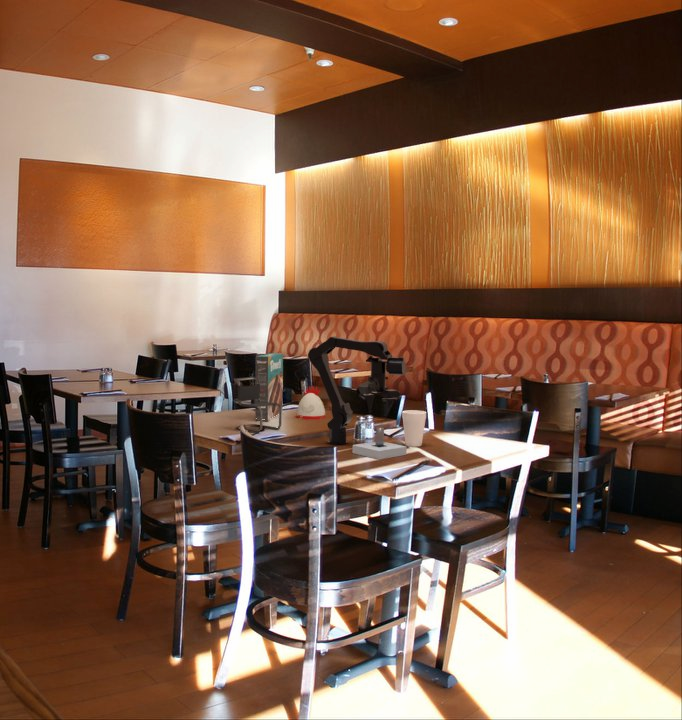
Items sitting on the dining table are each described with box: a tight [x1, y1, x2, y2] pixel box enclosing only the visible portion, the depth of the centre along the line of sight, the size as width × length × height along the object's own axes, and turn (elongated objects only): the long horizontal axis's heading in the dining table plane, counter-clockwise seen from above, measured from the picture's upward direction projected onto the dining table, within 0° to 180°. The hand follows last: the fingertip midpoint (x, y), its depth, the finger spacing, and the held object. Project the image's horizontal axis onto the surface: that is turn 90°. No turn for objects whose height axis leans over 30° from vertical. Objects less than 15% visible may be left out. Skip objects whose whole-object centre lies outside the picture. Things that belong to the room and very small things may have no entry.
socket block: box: [352, 441, 408, 460], centre depth 281 cm, size 14×14×3 cm
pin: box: [375, 427, 385, 447], centre depth 280 cm, size 3×3×10 cm
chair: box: [233, 376, 283, 433], centre depth 328 cm, size 13×17×22 cm
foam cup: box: [401, 409, 427, 448], centre depth 299 cm, size 10×9×13 cm
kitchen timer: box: [296, 385, 326, 420], centre depth 366 cm, size 14×14×15 cm
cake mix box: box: [254, 352, 284, 423], centre depth 360 cm, size 22×6×30 cm, turn 167°
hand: (377, 414), depth 294 cm, fingers open, 9 cm apart
